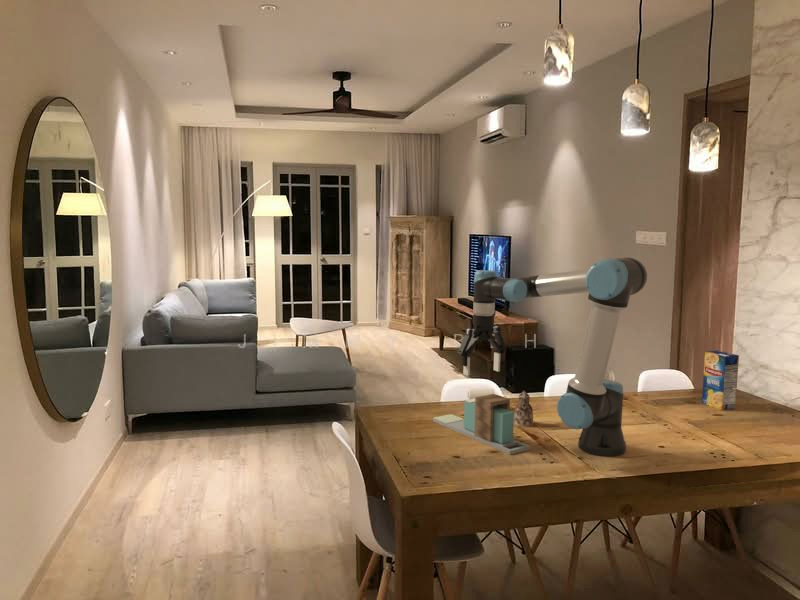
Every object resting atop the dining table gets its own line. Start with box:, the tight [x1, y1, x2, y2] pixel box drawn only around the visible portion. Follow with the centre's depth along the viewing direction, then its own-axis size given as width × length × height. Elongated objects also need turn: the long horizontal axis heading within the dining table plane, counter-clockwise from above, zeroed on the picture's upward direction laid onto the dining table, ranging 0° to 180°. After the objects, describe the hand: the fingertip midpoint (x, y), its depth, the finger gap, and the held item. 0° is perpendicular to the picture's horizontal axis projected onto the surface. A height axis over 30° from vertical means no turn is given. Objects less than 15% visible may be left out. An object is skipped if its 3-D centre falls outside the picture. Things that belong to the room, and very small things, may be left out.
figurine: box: [514, 390, 534, 428], centre depth 246 cm, size 7×7×12 cm
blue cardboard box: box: [701, 349, 740, 411], centre depth 271 cm, size 7×11×22 cm, turn 18°
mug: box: [467, 387, 495, 400], centre depth 269 cm, size 12×10×8 cm
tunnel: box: [475, 393, 511, 442], centre depth 227 cm, size 8×8×14 cm
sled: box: [463, 399, 515, 444], centre depth 229 cm, size 20×5×10 cm, turn 33°
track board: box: [432, 413, 531, 456], centre depth 234 cm, size 42×9×1 cm, turn 33°
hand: (481, 372), depth 237 cm, fingers open, 13 cm apart
